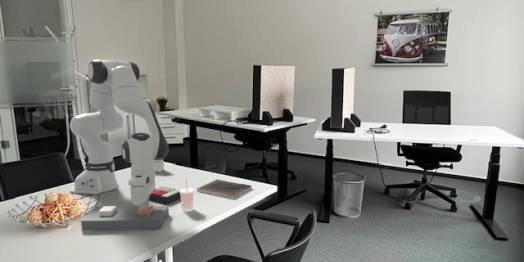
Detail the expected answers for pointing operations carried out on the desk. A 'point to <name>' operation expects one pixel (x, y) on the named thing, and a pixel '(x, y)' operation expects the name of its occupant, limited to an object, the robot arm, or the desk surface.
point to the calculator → (165, 195)
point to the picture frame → (224, 189)
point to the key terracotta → (145, 211)
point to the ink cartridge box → (158, 165)
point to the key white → (107, 211)
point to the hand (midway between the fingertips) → (145, 207)
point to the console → (126, 219)
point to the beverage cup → (187, 198)
